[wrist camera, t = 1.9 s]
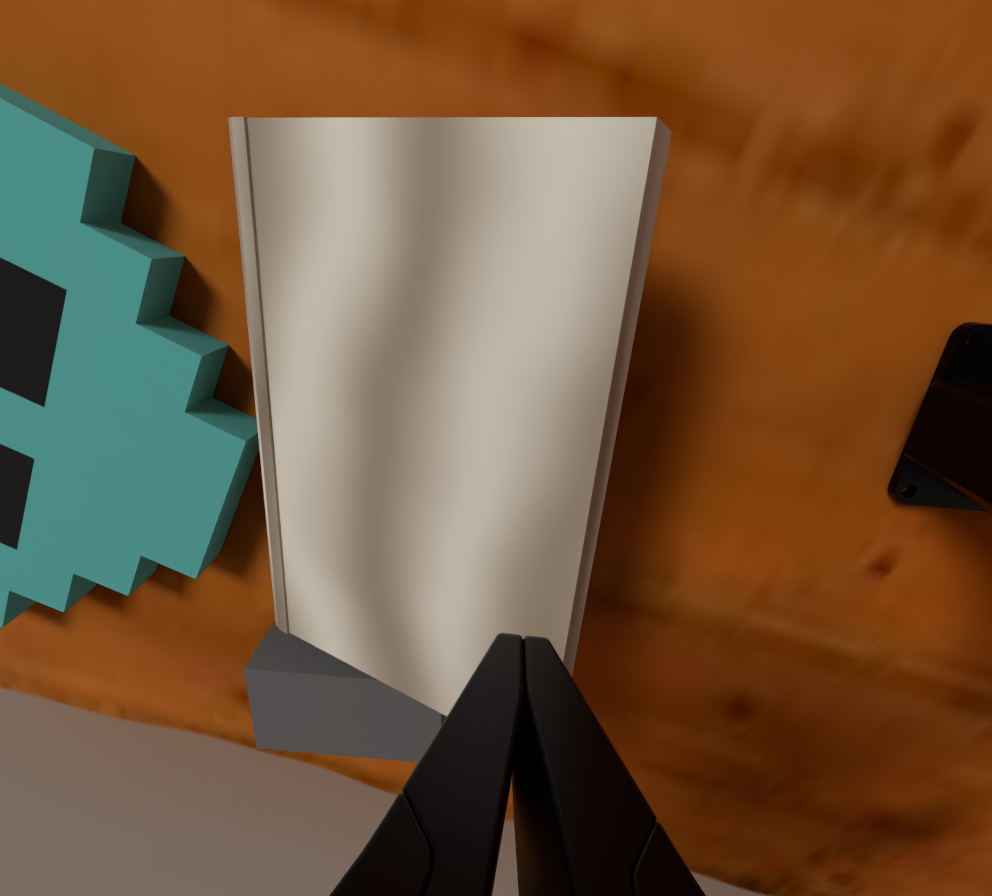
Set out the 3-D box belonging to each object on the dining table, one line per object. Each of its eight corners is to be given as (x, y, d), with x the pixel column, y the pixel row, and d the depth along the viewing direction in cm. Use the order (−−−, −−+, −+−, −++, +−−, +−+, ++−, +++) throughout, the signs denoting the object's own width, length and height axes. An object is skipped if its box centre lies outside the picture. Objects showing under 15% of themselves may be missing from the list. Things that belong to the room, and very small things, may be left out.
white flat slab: (672, 131, 11) (655, 115, 10) (561, 733, 18) (543, 771, 17) (271, 128, 16) (225, 117, 15) (303, 605, 23) (274, 627, 22)
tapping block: (451, 632, 24) (442, 685, 21) (449, 706, 26) (440, 764, 23) (276, 618, 24) (243, 668, 21) (285, 692, 26) (256, 747, 23)
